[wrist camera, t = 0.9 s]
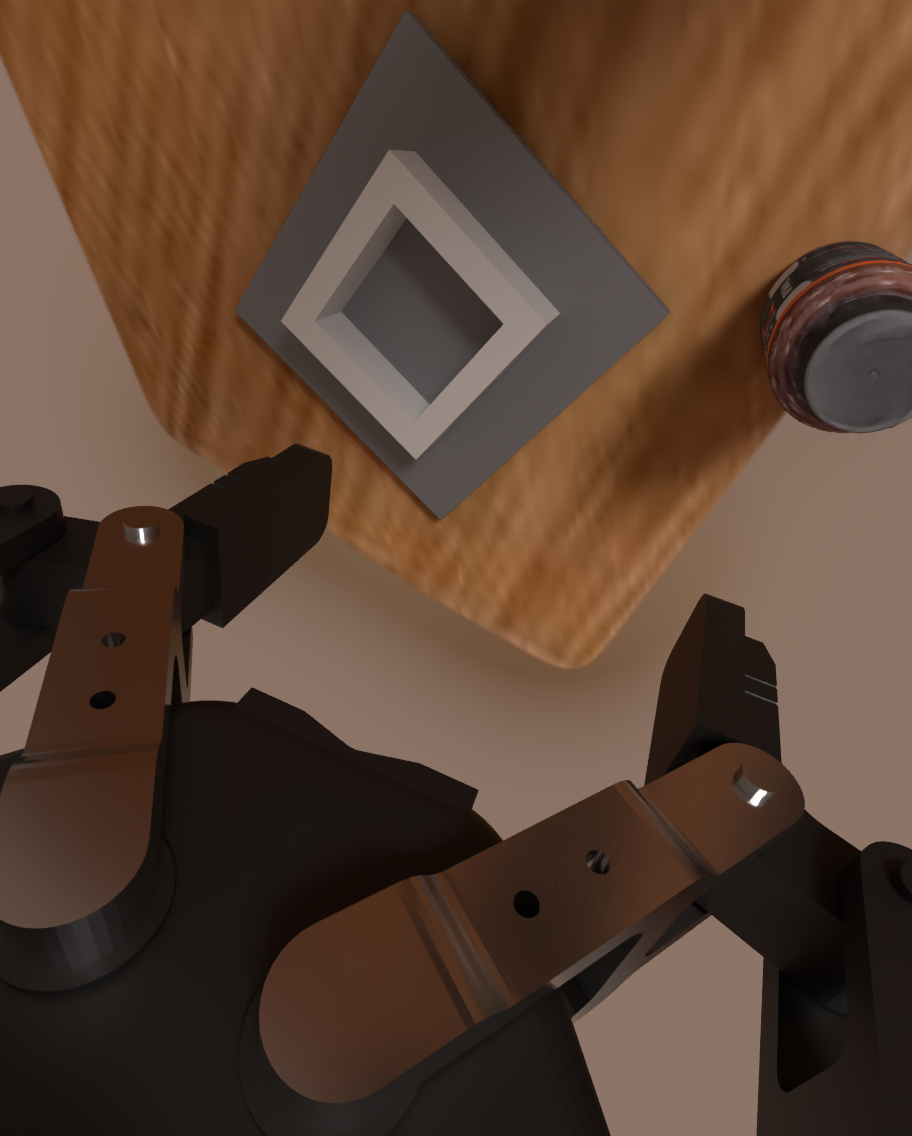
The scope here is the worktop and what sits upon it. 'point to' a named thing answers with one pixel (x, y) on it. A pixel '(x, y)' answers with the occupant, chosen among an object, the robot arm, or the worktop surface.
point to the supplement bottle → (841, 338)
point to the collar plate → (442, 279)
